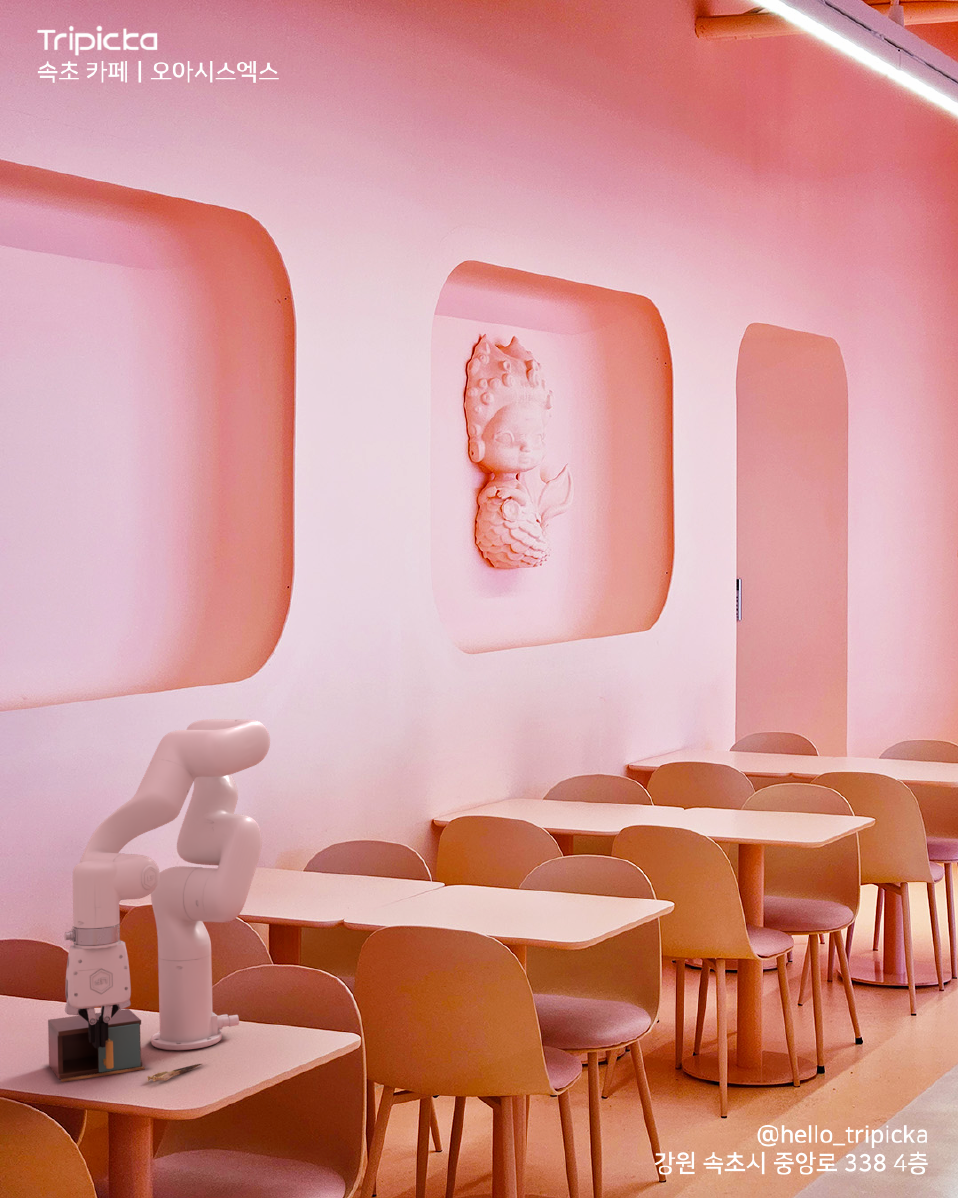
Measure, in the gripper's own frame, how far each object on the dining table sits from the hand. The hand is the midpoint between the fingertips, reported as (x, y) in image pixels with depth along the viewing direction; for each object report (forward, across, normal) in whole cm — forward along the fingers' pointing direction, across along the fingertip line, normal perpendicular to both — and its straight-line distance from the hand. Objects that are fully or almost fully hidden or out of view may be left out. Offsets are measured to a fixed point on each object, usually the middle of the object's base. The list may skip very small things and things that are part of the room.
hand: (98, 1046), depth 255 cm
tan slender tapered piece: (+6, +12, -4) cm, 14 cm away
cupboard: (+6, +1, +9) cm, 10 cm away
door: (+5, +4, +2) cm, 7 cm away
